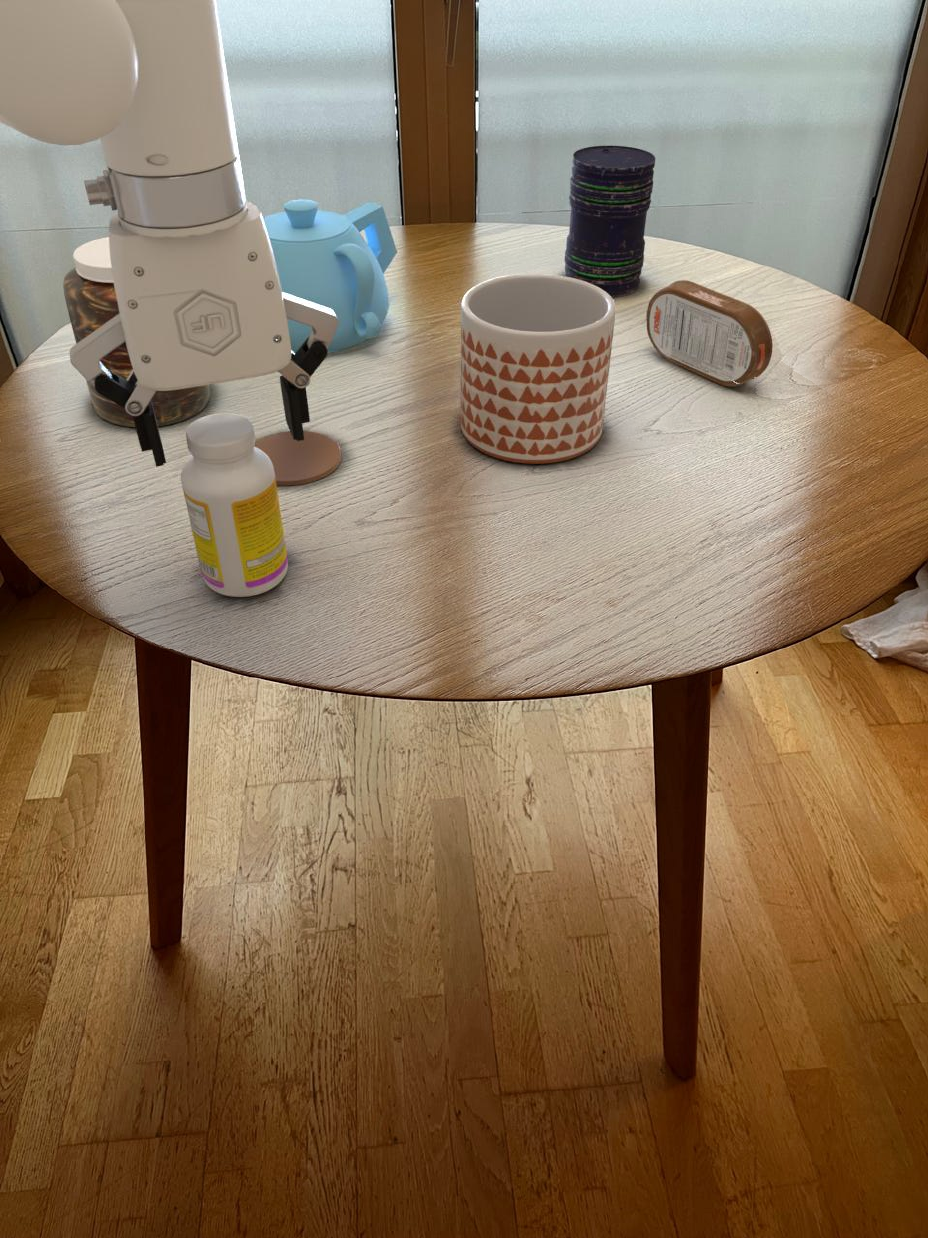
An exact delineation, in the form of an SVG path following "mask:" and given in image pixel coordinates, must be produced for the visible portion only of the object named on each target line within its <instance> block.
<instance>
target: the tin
mask: <svg viewBox="0 0 928 1238" xmlns="http://www.w3.org/2000/svg"><path fill="white" fill-rule="evenodd" d="M645 319H646V320H645V321H646V332H647V335H648V338H649V341H650V343H651V345H652V347H653V348H654V349H655V351H656V352H657V353H658V355H660V356H661V357H662V358H664V359H665V360H667V361H668V362H671V363H673V364H675V365H677V366H679V367H682V368H684V369H686V370H688V371H690V372H693V373H695V374H696V375H699V376H701V377H703V378H706V379H707V380H710V381H712V382H714V383H716V384H718V385H721V386H725V387H737V386H741V385H742V384H741V383H743V384H745V383H747V382H749V381H751V380H754V379H755V378H754V377H756V378H758V377H760V376H761V375H762V374H763V373H764V372H765V371H766V369H768V367H769V364H770V362H771V360H772V356H773V348H774V347H773V338H772V332H771V330H770V327H769V325H768V323H767V321H766V319H765V318H764V316H763V315H762V314H761V313H760V312H759V311H758V309H756V308H755V307H754V306H753V305H750V304H749V303H746V302H744V301H742V300H739V299H736V298H734V297H731V296H729V295H726V294H723V293H721V292H718V291H716V290H714V289H711V288H709V287H706V286H703V285H701V284H699V283H696V282H693V281H691V280H685V279H684V280H683V279H682V280H676V281H674V282H672V283H670V284H669V285H668V286H666V287H663V288H661V289H659V290H658V291H657V292H656V293H654V294H653V296H651V298H650V300H649V301H648V305H647V309H646V318H645ZM699 366H700V367H699ZM706 369H707V370H706ZM713 372H714V373H713ZM716 373H717V374H716ZM718 374H720V375H718ZM721 375H722V376H721ZM723 376H725V377H728V378H730V379H731V380H734V381H735V382H737V383H740V384H736V383H734V382H733V381H731V380H729V379H727V378H725V377H723Z"/></svg>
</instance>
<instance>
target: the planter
mask: <svg viewBox="0 0 928 1238" xmlns="http://www.w3.org/2000/svg"><path fill="white" fill-rule="evenodd" d="M616 309H617V307H616V303H615V300H614V299H613V297H611V296H610V295H609V294H608V293H606V292H605V291H604V290H602V289H601V288H599V287H597V286H595V285H593V284H590V283H588V282H585V281H582V280H578V279H574V278H570V277H565V276H564V275H558V274H549V273H521V274H520V273H519V274H510V275H504V276H497V277H494V278H491V279H487V280H485V281H483V282H480V283H479V284H477V285H475V286H473V287H472V288H470V289H469V290H468V291H466V293H465V294H464V296H463V298H462V299H461V303H460V430H461V432H462V434H463V436H464V438H465V440H466V441H467V442H468V443H469V444H470V445H472V446H473V448H476V449H477V450H478V451H480V452H481V453H484V454H486V455H488V456H491V457H492V458H495V459H499V460H502V461H506V462H512V463H518V464H527V465H528V464H529V465H531V464H532V465H540V464H541V465H543V464H553V463H558V462H564V461H568V460H571V459H574V458H576V457H579V456H581V455H583V454H585V453H587V452H588V451H590V450H591V449H592V448H593V447H595V445H596V444H597V443H598V442H599V441H600V439H601V436H602V433H603V426H604V420H605V419H604V418H605V409H606V401H607V393H608V383H609V375H610V366H611V357H612V347H613V340H614V329H615V320H616V312H617V311H616Z"/></svg>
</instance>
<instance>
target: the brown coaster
mask: <svg viewBox="0 0 928 1238" xmlns="http://www.w3.org/2000/svg"><path fill="white" fill-rule="evenodd" d="M303 433H304V440H302V441H297V440H294V439H293V437H292V435H291V432H290V430H287V431H279V432H276V433H272V434H268V435H266V436H263V437H261V438H259V439H257V440H256V441H255V445H254V447H256V448H258V449H260V450H262V451H263V452H264V453H265V454H266V455H267V456H268V457H269V458H270V460H271V462H272V464H273V467H274V472H275V479H276V485H277V486H299V485H305V484H310V483H313V482H316V481H318V480H322V479H324V478H326V477H327V476H329V475H330V474H331V475H332V473H333V472H334V471H335V470H336V469H337V468H338V467H339V466H340V464H341V462H342V449H341V446H340V445H339V444H338V442H336V441H335V440H334V439H333V438H332V437H329V436H328V435H325V434H323V433H319V432H315V431H309V430H303Z"/></svg>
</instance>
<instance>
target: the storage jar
mask: <svg viewBox="0 0 928 1238" xmlns="http://www.w3.org/2000/svg"><path fill="white" fill-rule="evenodd" d="M572 165H573V166H571V177H570V181H569V190H570V192H569V196H568V199H569V206H570V215H569V217H570V218H569V230H568V232H569V233H568V235H567V236H566V244H565V245H566V246H565V250H564V271H565V274H564V275H563V276H565V277H570V278H574V279H578V280H582V281H585V282H588V283H590V284H593V285H595V286H597V287H599V288H601V289H602V290H604V291H605V292H606V293H608V294H609V295H610V296H611V298H619V297H625V296H628V295H631V294H633V293H635V292H636V291H638V290H639V288H640V286H641V278H640V277H641V274H642V268H643V267H644V261H645V246H646V240H645V231H646V222H647V216H648V215H647V214H648V211H649V209H650V207H651V204H652V200H651V199H652V194H653V188H654V175H655V174H654V173H655V171H654V169H655V167H656V166H655V165H656V156H655V155H654V153H651V152H650V151H647V150H644V149H643V148H642V149H641V148H637V147H632V146H624V145H593V146H587V147H583V148H580V149H578V150H576V151H574V152H573V154H572Z"/></svg>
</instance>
